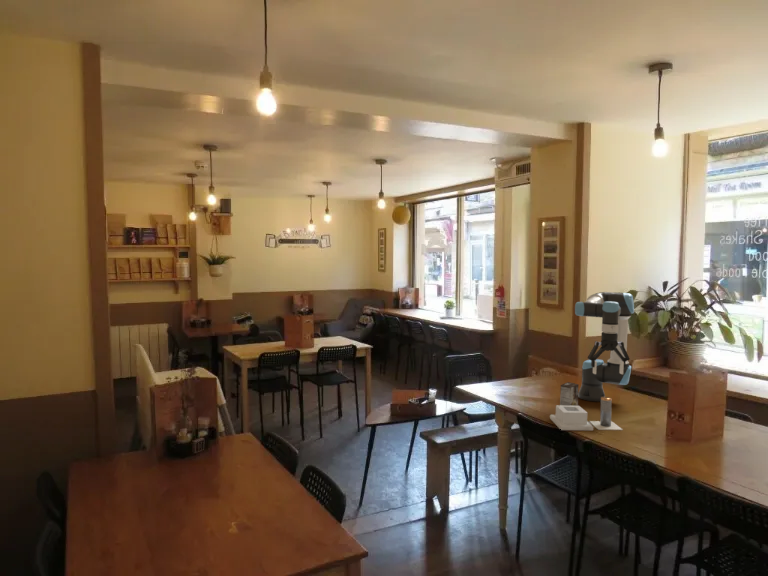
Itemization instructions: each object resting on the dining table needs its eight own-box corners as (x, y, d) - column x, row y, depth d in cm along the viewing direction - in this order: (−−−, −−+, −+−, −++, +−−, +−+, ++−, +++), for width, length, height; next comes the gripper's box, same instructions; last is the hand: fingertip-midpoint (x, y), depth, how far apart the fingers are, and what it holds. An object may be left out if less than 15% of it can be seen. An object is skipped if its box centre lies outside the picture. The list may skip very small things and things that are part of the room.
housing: (549, 418, 279) (550, 403, 279) (580, 418, 279) (580, 403, 278) (560, 430, 261) (561, 414, 261) (593, 430, 261) (593, 414, 260)
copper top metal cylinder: (598, 423, 270) (599, 396, 270) (608, 423, 270) (609, 396, 269) (602, 426, 266) (603, 399, 265) (612, 426, 265) (613, 399, 264)
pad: (589, 421, 274) (589, 421, 274) (612, 422, 274) (612, 421, 274) (598, 429, 262) (598, 429, 262) (622, 430, 262) (622, 429, 262)
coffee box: (566, 410, 293) (568, 381, 292) (578, 412, 289) (579, 384, 288) (559, 413, 287) (560, 384, 286) (570, 416, 283) (571, 387, 281)
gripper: (587, 333, 261) (585, 375, 263) (638, 333, 261) (635, 375, 263) (582, 330, 269) (580, 371, 270) (631, 331, 268) (629, 372, 270)
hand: (607, 373), depth 267 cm, fingers open, 13 cm apart
